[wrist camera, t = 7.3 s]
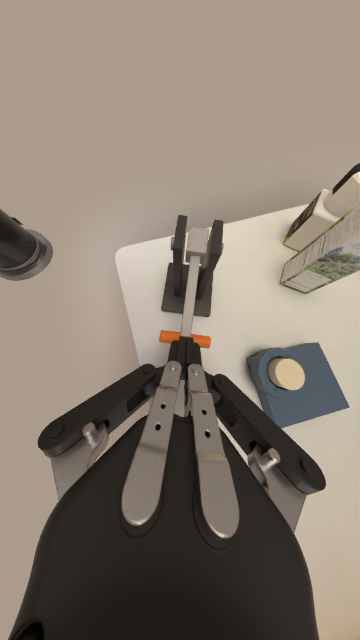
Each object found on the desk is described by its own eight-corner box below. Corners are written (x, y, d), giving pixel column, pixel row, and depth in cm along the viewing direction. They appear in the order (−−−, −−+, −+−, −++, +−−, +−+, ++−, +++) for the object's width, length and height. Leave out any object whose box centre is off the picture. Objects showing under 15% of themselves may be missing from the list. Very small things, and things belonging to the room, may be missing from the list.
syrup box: (310, 272, 28) (446, 191, 14) (305, 295, 27) (451, 230, 13) (284, 263, 28) (391, 174, 14) (278, 285, 27) (390, 210, 13)
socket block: (261, 423, 21) (281, 439, 17) (239, 354, 23) (251, 354, 19) (333, 402, 22) (367, 412, 18) (303, 338, 24) (327, 335, 20)
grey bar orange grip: (206, 347, 16) (211, 350, 13) (161, 341, 16) (157, 343, 13) (217, 245, 17) (224, 231, 14) (175, 239, 17) (174, 224, 14)
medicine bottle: (291, 224, 31) (359, 147, 20) (320, 236, 31) (408, 165, 19) (282, 244, 30) (350, 174, 18) (311, 258, 29) (403, 195, 17)
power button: (273, 390, 18) (283, 393, 17) (262, 361, 19) (271, 362, 18) (298, 383, 19) (310, 386, 17) (286, 355, 20) (297, 355, 18)
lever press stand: (208, 317, 25) (241, 280, 12) (161, 311, 25) (147, 268, 12) (211, 271, 27) (241, 204, 15) (169, 266, 27) (164, 193, 15)
